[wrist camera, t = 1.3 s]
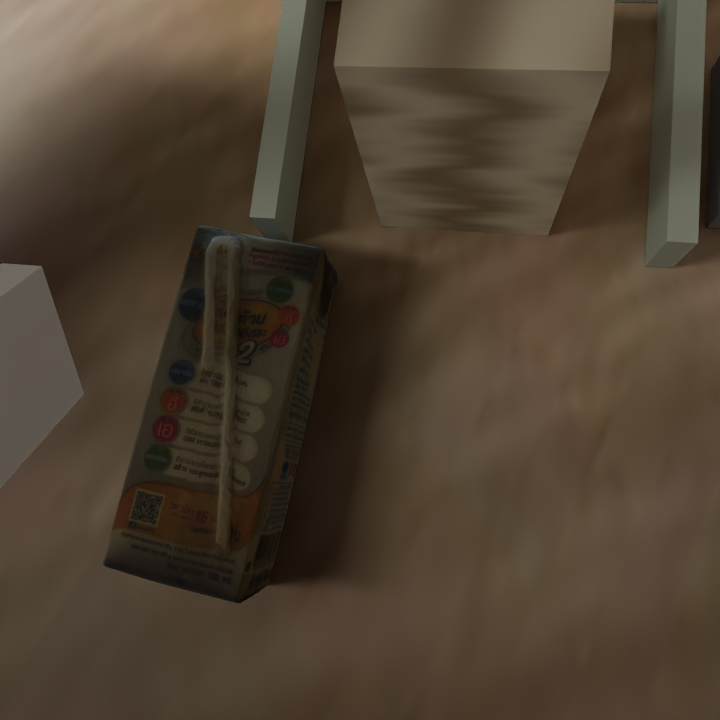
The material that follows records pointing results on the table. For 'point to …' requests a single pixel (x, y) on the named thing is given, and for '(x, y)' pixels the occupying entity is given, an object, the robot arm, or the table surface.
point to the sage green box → (668, 138)
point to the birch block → (472, 105)
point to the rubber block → (714, 152)
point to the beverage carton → (225, 416)
